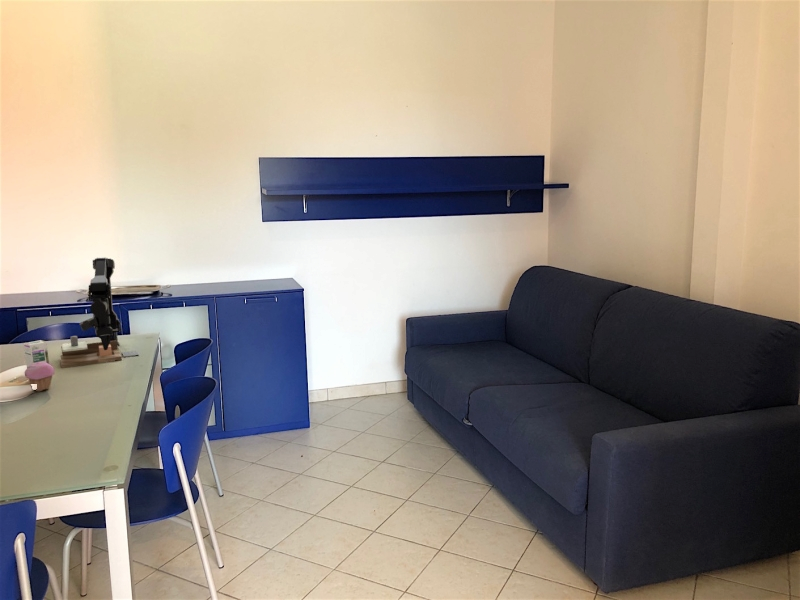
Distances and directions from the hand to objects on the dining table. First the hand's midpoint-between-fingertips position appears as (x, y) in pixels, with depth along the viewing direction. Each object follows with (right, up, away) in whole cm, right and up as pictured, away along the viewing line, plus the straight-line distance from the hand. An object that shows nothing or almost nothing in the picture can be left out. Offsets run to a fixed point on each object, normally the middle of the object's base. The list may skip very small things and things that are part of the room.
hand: (105, 347), depth 252 cm
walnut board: (-5, -5, -2) cm, 7 cm away
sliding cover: (-11, 0, -4) cm, 11 cm away
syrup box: (-9, -10, -30) cm, 33 cm away
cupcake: (-2, -12, -42) cm, 44 cm away
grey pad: (+8, -3, +5) cm, 10 cm away
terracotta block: (0, -4, +1) cm, 4 cm away
